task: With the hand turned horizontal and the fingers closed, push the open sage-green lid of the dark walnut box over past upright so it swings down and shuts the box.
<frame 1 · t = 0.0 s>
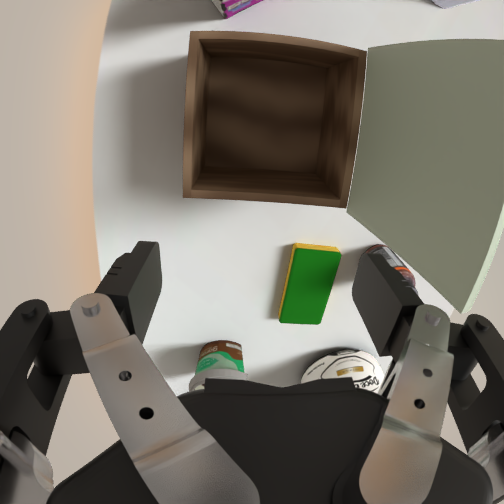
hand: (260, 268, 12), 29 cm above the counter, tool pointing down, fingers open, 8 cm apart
milk container: (337, 369, 59), on the counter
lid: (422, 147, 18), point 20 cm above the counter, hinge at 100.0°
dish sponge: (306, 281, 48), on the counter
walnut box: (264, 114, 35), on the counter
supplement bottle: (375, 258, 46), on the counter
food container: (212, 349, 54), on the counter
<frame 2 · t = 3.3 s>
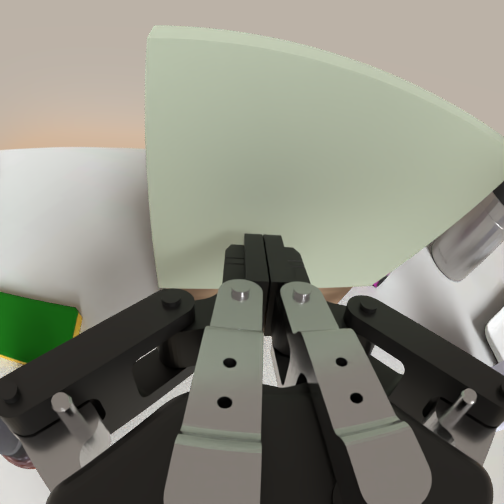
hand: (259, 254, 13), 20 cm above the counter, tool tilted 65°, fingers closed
lid: (325, 221, 15), point 20 cm above the counter, hinge at 99.4°
dish sponge: (27, 335, 25), on the counter
walnut box: (236, 271, 36), on the counter
supplement bottle: (58, 438, 20), on the counter
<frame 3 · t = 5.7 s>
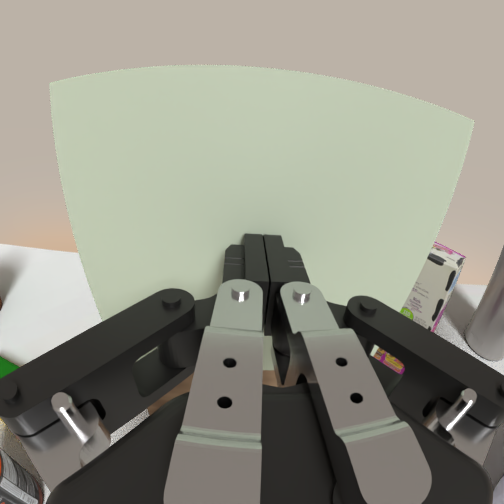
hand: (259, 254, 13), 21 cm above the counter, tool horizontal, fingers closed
lid: (255, 263, 14), point 20 cm above the counter, hinge at 98.7°, touching gripper
candy bar box: (375, 354, 36), on the counter
walnut box: (237, 374, 32), on the counter
supplement bottle: (21, 495, 13), on the counter
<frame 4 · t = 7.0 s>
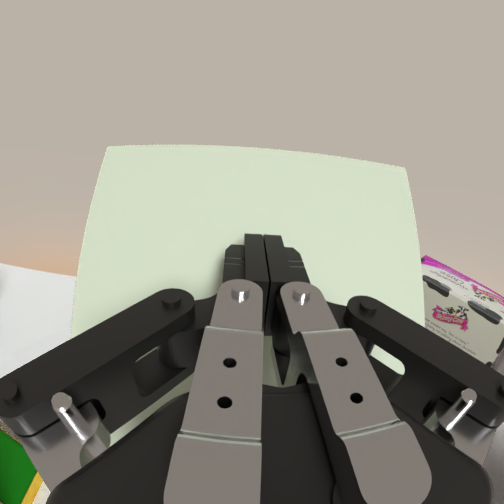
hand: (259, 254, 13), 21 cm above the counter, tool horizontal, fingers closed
lid: (254, 316, 13), point 18 cm above the counter, hinge at 45.2°
candy bar box: (399, 406, 27), on the counter
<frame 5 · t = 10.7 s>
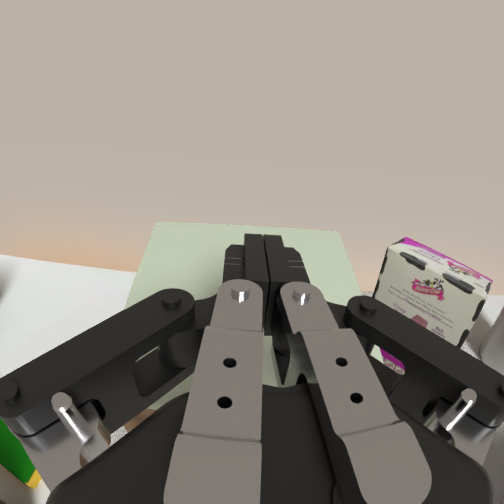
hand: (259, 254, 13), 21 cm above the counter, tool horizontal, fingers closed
lid: (249, 300, 21), point 14 cm above the counter, hinge at 11.5°
candy bar box: (388, 379, 31), on the counter
dish sponge: (8, 435, 18), on the counter
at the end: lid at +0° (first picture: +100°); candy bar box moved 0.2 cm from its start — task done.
